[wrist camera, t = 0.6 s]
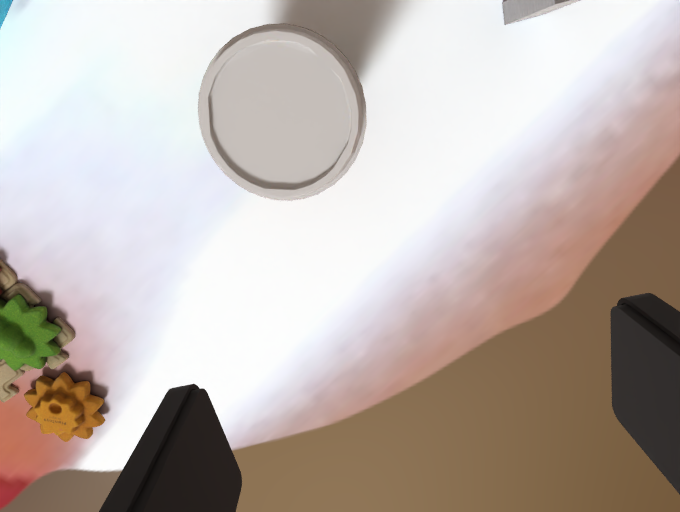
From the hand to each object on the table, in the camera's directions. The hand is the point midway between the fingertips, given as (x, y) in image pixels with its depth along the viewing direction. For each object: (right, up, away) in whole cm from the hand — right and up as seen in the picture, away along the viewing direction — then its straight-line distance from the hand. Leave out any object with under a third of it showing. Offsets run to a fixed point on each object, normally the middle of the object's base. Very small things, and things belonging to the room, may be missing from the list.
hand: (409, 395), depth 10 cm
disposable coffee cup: (-5, +15, +25) cm, 29 cm away
